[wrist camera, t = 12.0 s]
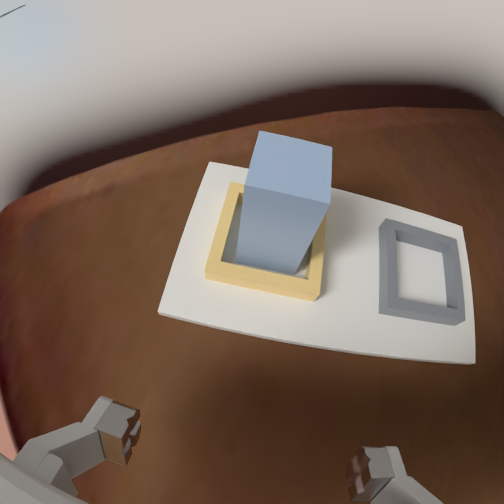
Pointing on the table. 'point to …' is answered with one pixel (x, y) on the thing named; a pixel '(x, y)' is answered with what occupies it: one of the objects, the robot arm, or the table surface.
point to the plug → (283, 201)
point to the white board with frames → (329, 279)
